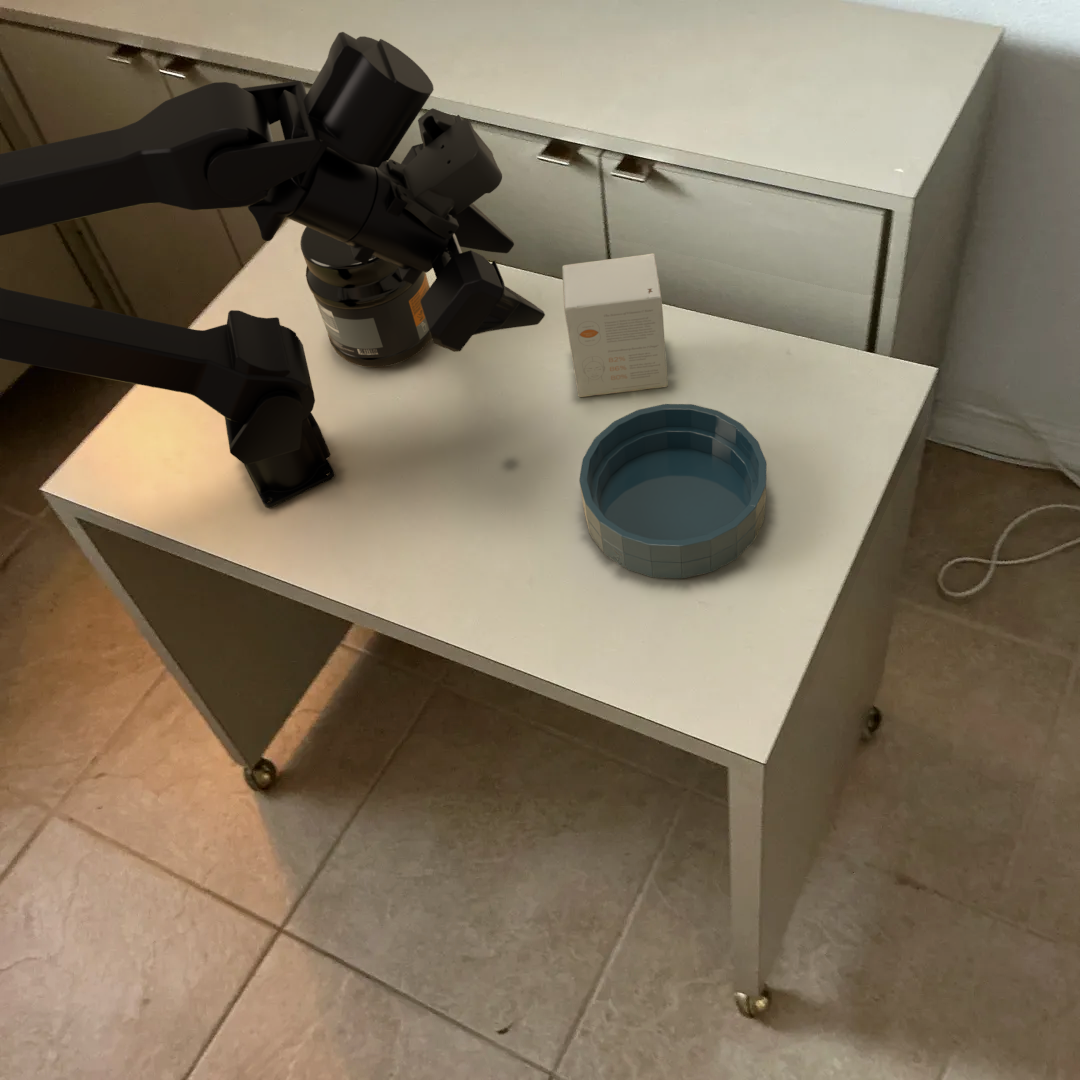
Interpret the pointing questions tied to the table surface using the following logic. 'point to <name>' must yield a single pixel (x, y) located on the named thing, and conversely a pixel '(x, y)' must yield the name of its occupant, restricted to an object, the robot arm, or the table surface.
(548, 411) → the table surface
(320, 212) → the robot arm
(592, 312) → the small box
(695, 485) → the bowl
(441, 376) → the table surface
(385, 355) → the supplement container
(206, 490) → the table surface
